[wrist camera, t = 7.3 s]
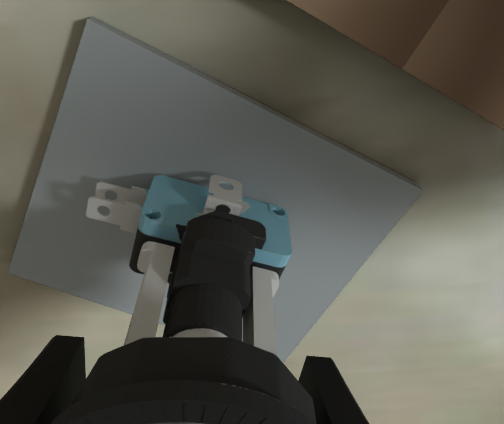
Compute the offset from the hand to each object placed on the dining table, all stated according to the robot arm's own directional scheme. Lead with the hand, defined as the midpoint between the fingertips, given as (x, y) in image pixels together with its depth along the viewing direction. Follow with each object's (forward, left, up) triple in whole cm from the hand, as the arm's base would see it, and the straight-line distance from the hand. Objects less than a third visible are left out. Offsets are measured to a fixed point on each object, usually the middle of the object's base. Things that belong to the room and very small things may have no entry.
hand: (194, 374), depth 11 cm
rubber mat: (0, 0, -7) cm, 7 cm away
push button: (+1, -1, -6) cm, 6 cm away
